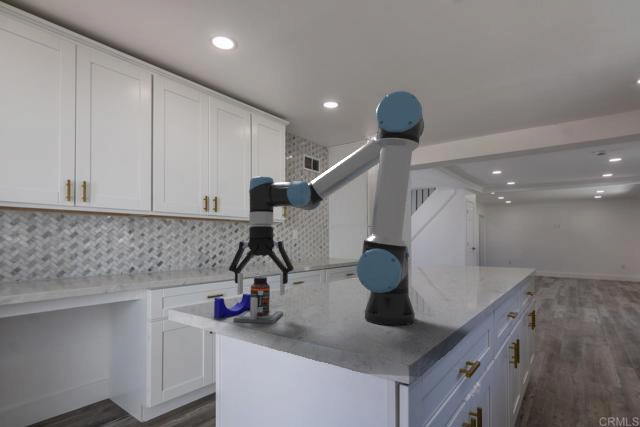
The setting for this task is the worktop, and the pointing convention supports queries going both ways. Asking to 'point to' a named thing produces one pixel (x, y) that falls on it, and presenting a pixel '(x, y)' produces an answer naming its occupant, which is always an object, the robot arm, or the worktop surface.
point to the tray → (253, 318)
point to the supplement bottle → (261, 295)
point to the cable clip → (238, 309)
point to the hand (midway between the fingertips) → (261, 294)
